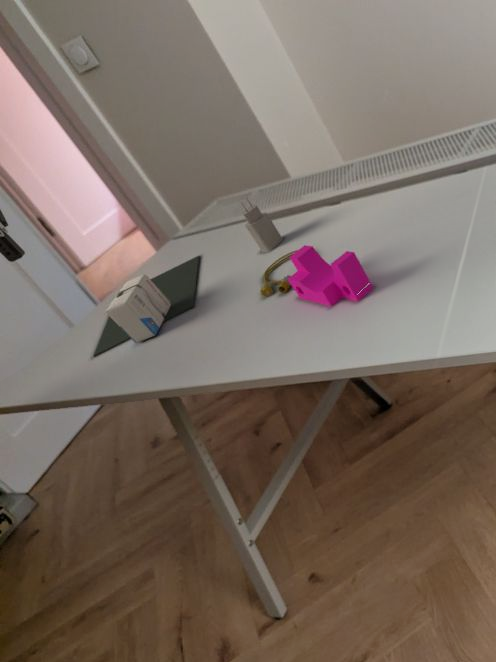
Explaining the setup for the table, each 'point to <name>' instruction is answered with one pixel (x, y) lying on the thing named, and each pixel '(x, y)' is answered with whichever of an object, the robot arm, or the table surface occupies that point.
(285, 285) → the braided water hose
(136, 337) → the ink box
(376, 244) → the table surface
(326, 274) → the toy block
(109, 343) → the mat
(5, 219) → the robot arm
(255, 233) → the power adapter
